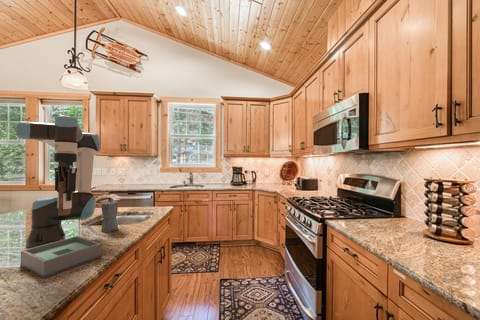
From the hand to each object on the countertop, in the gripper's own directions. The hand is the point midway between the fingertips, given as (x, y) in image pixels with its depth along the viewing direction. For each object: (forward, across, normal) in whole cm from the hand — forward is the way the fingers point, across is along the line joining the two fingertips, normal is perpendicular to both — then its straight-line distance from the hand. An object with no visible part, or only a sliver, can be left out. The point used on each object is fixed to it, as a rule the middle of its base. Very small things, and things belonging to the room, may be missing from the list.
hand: (64, 207), depth 91 cm
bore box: (+22, 0, 0) cm, 22 cm away
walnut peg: (+3, 0, 0) cm, 3 cm away
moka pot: (+23, -25, +35) cm, 49 cm away
